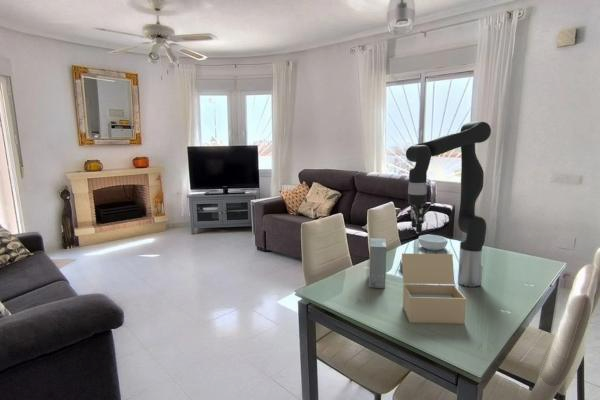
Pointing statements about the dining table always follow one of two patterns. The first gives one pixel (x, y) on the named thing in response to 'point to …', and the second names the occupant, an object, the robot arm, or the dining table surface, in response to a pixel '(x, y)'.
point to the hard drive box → (377, 263)
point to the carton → (434, 304)
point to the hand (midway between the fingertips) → (416, 229)
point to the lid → (428, 268)
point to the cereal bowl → (433, 242)
